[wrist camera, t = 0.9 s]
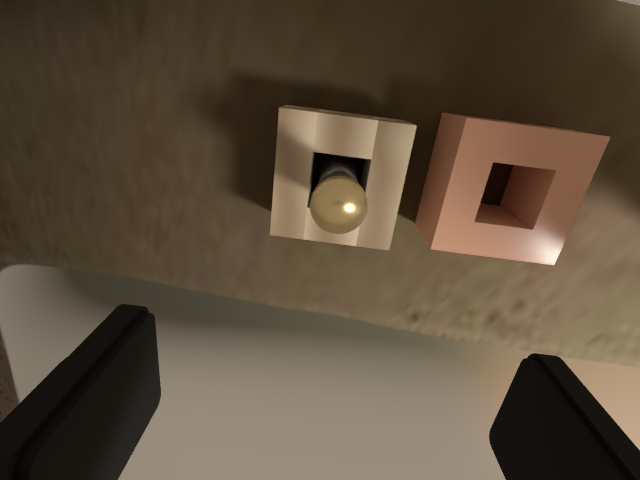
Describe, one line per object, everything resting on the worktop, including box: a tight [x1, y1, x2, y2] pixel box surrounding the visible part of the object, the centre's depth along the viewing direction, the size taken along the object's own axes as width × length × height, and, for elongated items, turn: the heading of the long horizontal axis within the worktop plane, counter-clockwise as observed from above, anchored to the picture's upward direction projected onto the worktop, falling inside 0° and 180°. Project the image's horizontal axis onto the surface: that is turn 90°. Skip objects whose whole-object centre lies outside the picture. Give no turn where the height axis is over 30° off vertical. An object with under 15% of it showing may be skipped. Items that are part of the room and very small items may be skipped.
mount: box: [270, 105, 417, 250], centre depth 29 cm, size 10×10×5 cm
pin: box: [310, 155, 368, 234], centre depth 27 cm, size 4×4×11 cm
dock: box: [415, 112, 610, 265], centre depth 29 cm, size 10×10×6 cm
